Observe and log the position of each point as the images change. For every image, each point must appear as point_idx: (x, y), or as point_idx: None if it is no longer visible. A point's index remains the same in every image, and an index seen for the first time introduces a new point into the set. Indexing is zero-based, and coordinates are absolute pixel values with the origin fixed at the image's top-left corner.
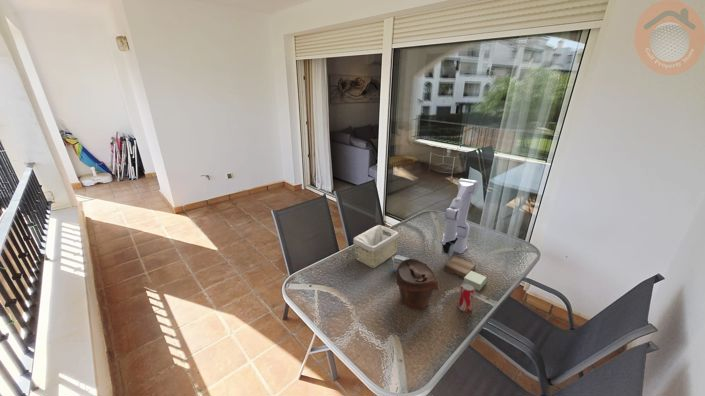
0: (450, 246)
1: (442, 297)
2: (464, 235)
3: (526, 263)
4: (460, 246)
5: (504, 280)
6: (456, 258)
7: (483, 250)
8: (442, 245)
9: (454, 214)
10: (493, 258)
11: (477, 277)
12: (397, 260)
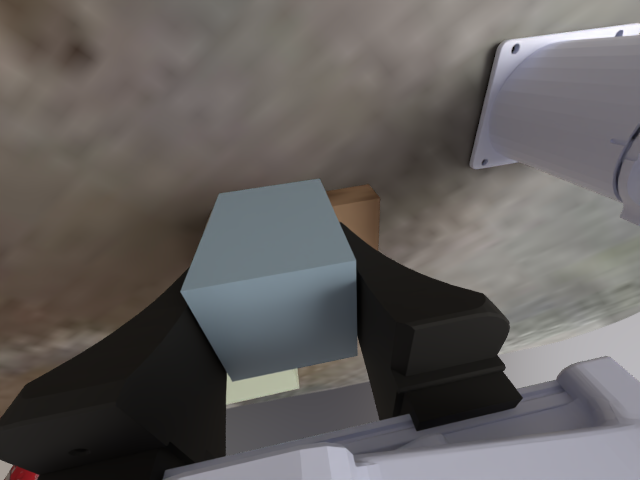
0: (244, 377)
1: (12, 349)
2: None
3: (516, 347)
4: (533, 163)
5: (364, 368)
6: (355, 223)
7: (569, 225)
8: (122, 332)
9: None
10: (503, 286)
11: (261, 380)
12: None
